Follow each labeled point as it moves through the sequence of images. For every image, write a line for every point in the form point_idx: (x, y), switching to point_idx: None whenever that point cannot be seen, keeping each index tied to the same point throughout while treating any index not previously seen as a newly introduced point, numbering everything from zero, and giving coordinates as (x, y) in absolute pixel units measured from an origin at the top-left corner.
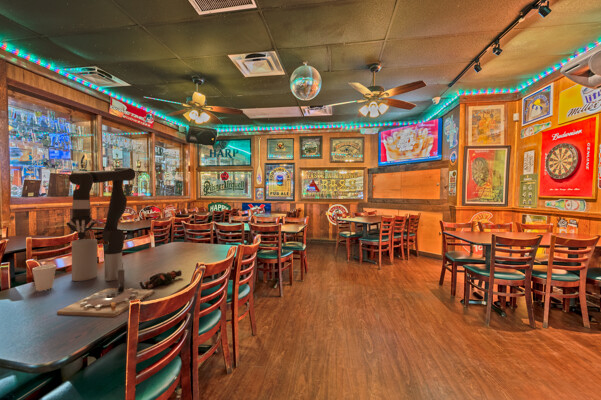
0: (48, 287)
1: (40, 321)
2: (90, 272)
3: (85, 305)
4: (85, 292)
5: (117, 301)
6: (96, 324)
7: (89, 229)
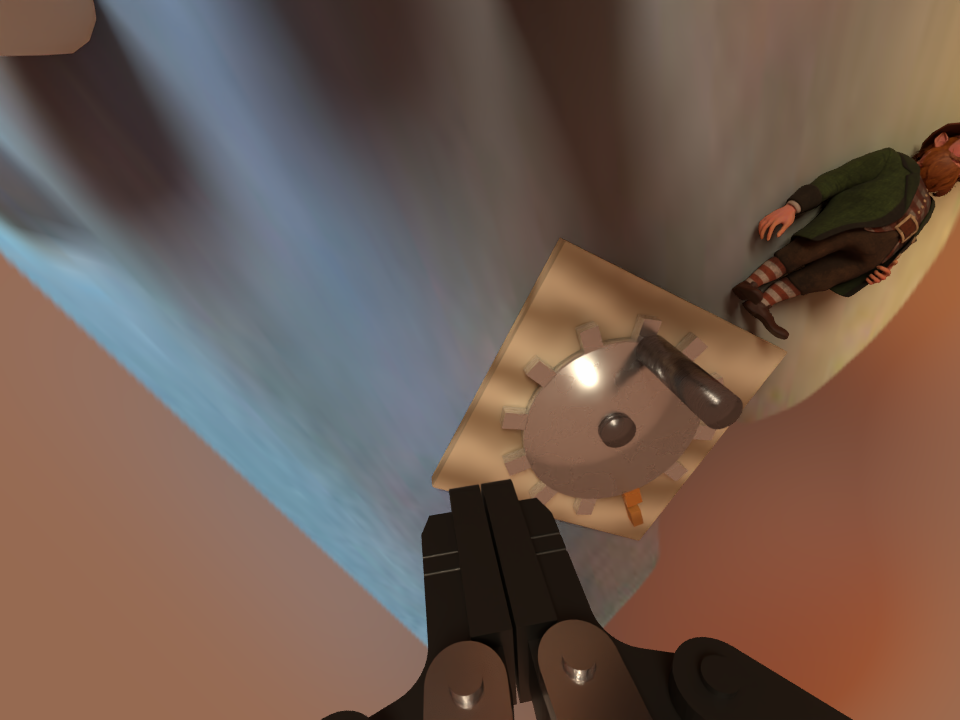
0: (83, 31)
1: (404, 518)
2: None
3: None
4: (435, 225)
5: (646, 483)
6: (591, 564)
7: (749, 681)
